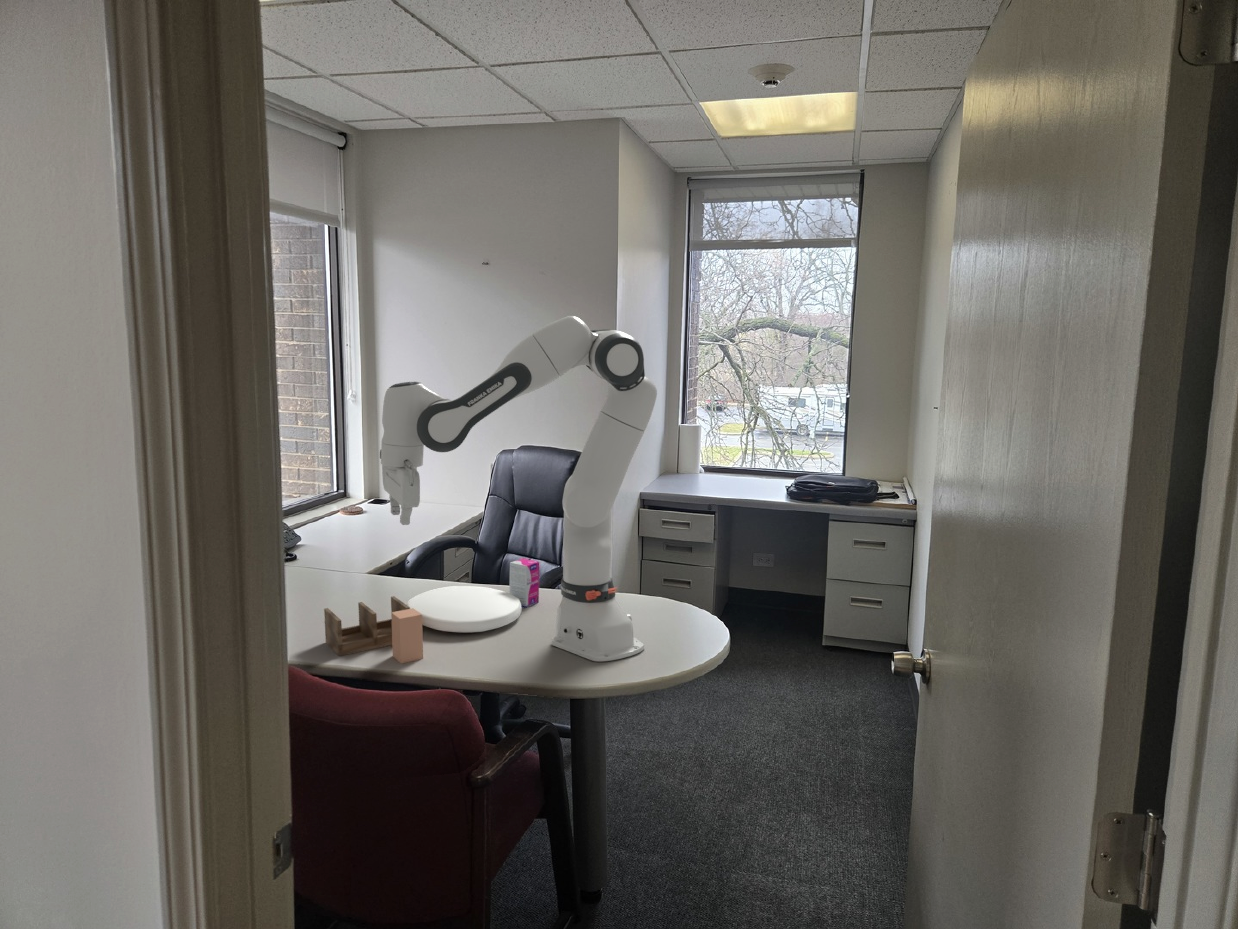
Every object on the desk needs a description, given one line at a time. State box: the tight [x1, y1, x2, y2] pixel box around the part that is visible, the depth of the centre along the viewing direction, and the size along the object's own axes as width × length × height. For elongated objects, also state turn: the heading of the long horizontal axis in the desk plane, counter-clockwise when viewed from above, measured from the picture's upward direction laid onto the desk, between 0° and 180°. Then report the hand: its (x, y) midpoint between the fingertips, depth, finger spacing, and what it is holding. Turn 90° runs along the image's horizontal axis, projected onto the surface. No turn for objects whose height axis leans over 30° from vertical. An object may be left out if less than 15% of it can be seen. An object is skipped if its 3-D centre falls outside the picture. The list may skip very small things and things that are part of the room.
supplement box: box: [508, 557, 540, 609], centre depth 215 cm, size 6×6×12 cm
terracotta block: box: [390, 608, 424, 664], centre depth 178 cm, size 5×5×10 cm
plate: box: [406, 585, 522, 633], centre depth 204 cm, size 28×6×27 cm
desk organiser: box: [323, 595, 410, 657], centre depth 187 cm, size 10×16×8 cm, turn 126°
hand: (399, 519), depth 178 cm, fingers open, 8 cm apart
